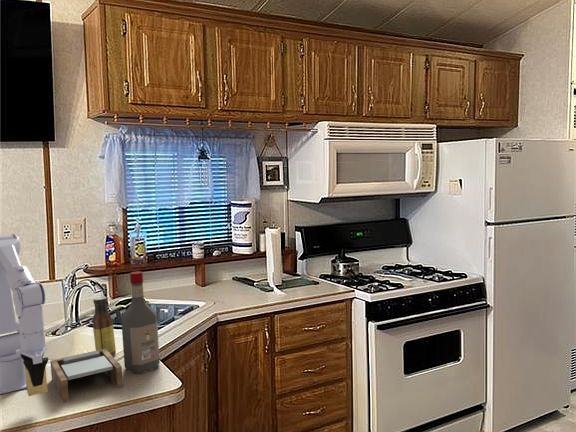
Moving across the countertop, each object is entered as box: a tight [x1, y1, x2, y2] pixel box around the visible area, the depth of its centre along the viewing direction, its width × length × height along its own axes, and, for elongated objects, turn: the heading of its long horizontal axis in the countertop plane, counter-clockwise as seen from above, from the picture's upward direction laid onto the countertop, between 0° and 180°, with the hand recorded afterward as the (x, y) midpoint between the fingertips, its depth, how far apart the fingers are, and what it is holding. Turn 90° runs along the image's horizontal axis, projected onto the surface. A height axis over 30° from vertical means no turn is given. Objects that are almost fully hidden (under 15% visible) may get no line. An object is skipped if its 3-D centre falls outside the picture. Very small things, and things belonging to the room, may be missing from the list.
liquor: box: [120, 270, 161, 374], centre depth 161 cm, size 9×9×30 cm
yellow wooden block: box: [24, 365, 49, 397], centre depth 135 cm, size 4×4×7 cm
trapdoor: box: [61, 350, 113, 381], centre depth 151 cm, size 14×12×3 cm
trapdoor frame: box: [49, 349, 124, 403], centre depth 152 cm, size 18×16×6 cm
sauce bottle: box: [92, 296, 117, 357], centre depth 172 cm, size 6×6×20 cm
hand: (36, 382), depth 135 cm, fingers closed on yellow wooden block, 4 cm apart
